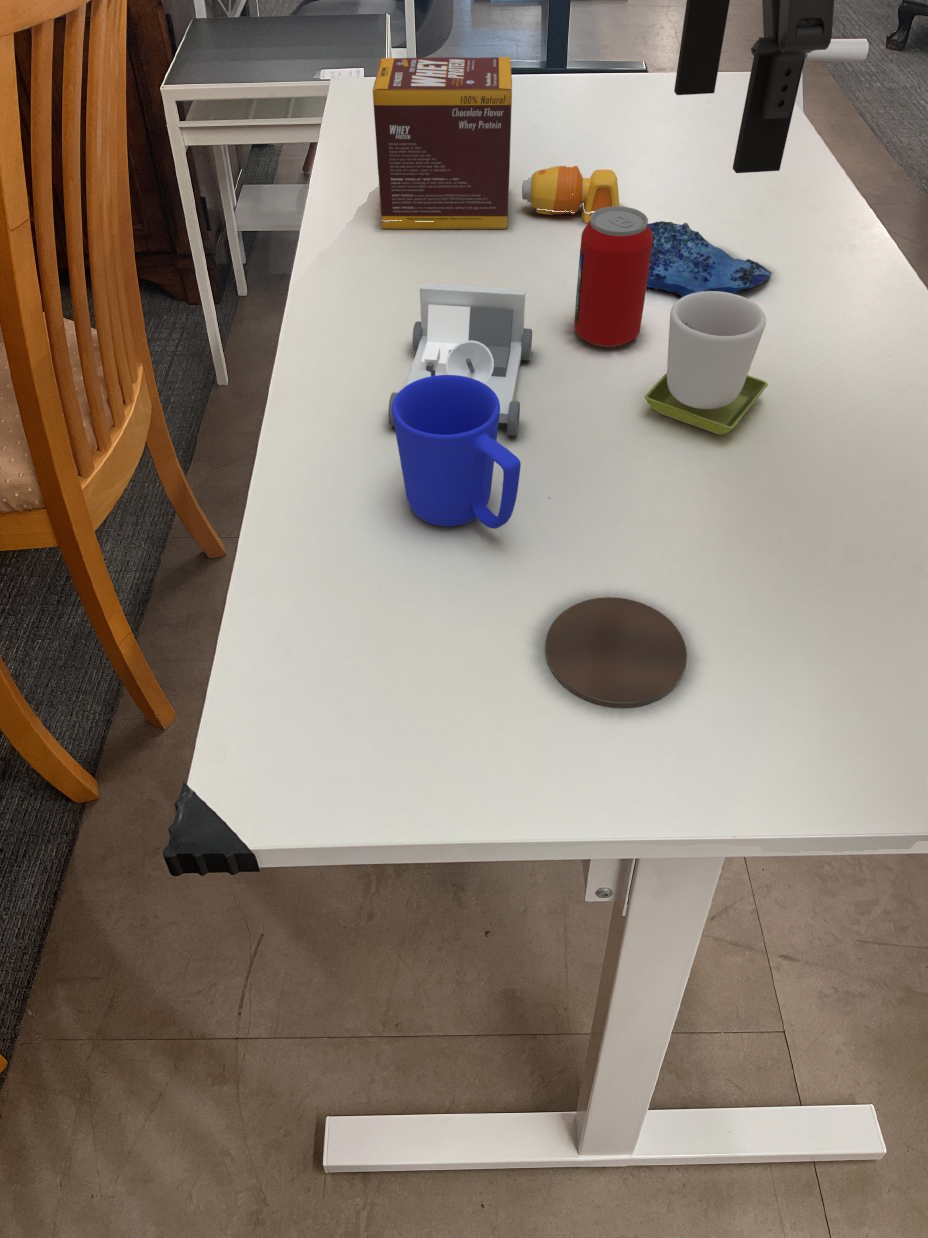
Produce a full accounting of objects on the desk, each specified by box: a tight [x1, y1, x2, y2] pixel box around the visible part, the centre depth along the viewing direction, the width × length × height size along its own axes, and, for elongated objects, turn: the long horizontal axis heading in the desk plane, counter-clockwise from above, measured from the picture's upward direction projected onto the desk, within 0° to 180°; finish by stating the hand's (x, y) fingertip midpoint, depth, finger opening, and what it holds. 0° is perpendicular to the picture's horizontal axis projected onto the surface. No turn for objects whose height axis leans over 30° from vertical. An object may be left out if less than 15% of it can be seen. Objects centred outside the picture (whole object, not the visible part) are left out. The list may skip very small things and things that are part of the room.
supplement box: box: [372, 56, 513, 230], centre depth 110 cm, size 10×15×16 cm
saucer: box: [644, 372, 769, 436], centre depth 86 cm, size 9×9×2 cm
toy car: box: [387, 283, 533, 436], centre depth 85 cm, size 18×10×12 cm
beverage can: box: [573, 205, 653, 348], centre depth 92 cm, size 7×7×12 cm
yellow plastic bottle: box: [521, 165, 620, 224], centre depth 113 cm, size 5×6×12 cm
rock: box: [646, 220, 773, 298], centre depth 104 cm, size 15×17×2 cm
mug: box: [392, 375, 522, 529], centre depth 74 cm, size 8×12×10 cm
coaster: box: [545, 596, 688, 708], centre depth 67 cm, size 10×10×1 cm
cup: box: [666, 290, 767, 409], centre depth 83 cm, size 11×8×8 cm
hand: (722, 128), depth 62 cm, fingers open, 13 cm apart
